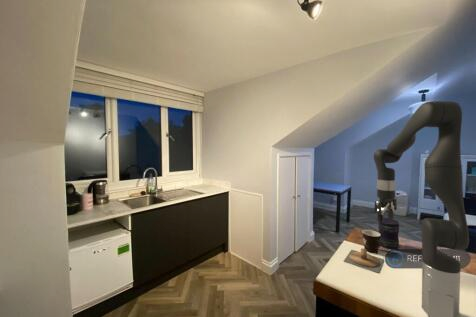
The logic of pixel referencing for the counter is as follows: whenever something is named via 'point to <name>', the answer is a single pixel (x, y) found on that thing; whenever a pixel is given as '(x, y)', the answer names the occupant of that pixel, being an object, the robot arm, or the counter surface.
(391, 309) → the counter surface
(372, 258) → the lid
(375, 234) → the coffee mug
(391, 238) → the storage jar
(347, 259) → the mat
